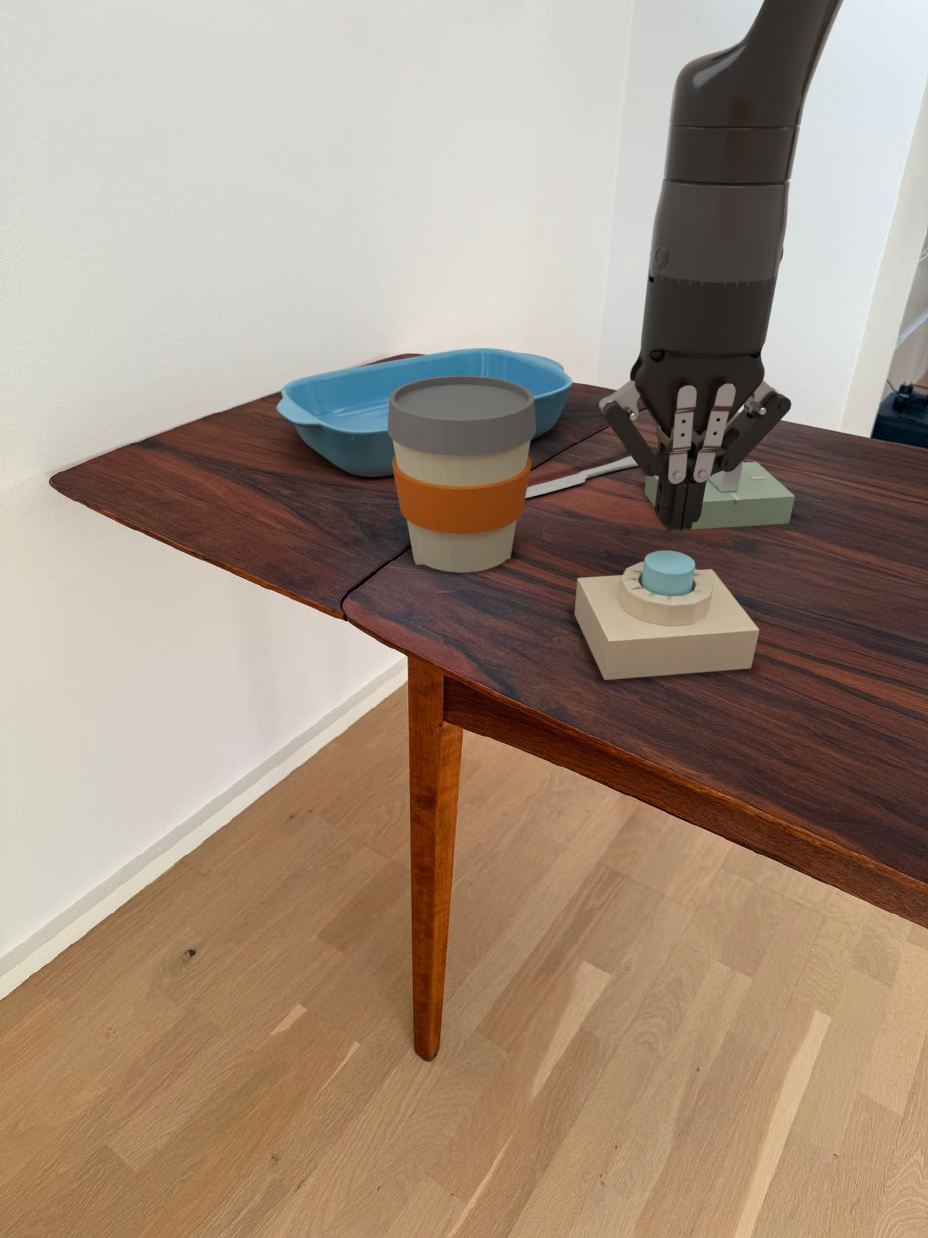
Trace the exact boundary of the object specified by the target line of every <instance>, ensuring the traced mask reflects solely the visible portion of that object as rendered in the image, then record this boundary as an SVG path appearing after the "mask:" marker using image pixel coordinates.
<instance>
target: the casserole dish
mask: <svg viewBox="0 0 928 1238" xmlns="http://www.w3.org/2000/svg"><path fill="white" fill-rule="evenodd" d="M456 375H469V376H484V377H492V378H499V379H503V380H508V381H512V382H514V383H517V384H520V385H522V386H524V387H526V388H527V389H529V390H530V391H531V392H532V394H533V396H534V406H535V421H536V432H535V435H534V436H533V438H532V439H531V440H530V441H532V440H535V439H537V438H539V437H541V436H542V435H543V434H545V433H547V432H548V431H550V430H551V429H552V428H553V427H554V426H555V424H556V423H557V422H558V420H559V419H560V417H561V414H562V413H563V409H564V407H565V404H566V402H567V400H568V399H567V398H568V396H569V393H570V390H571V388H572V387H573V383H574V381H573V379H572V377H571V376H570V375H569V374H567V373H566V372H565V368H564V365H562V364H561V363H559V362H558V361H556V360H553V359H551V358H548V357H545V356H542V355H538V354H533V353H526V352H518V351H511V350H508V349H501V348H493V347H492V348H491V347H490V348H489V347H472V348H471V347H470V348H464V349H463V348H461V349H453V350H448V351H442V352H441V351H440V352H435V353H431V354H430V353H429V354H423V355H418V356H413V357H406V358H402V359H395V360H390V361H385V362H384V361H383V362H378V363H372V364H367V365H360V366H355V367H348V368H343V369H338V370H333V371H328V372H322V373H317V374H313V375H308V376H304V377H301V378H297V379H294V380H292V381H290V382H287V383H286V384H284V385H283V387H282V388H281V390H280V394H281V397H282V399H280V401H279V402H278V404H277V405H276V411H277V413H278V414H279V415H280V416H281V417H282V418H283V419H284V420H286V421H287V422H289V423H290V424H292V425H294V428H295V430H296V432H297V434H298V435H299V437H300V438H301V439H302V441H303V442H304V443H305V444H306V445H307V446H308V447H310V448H311V449H312V450H313V451H315V452H316V453H318V454H319V455H321V456H322V458H325V459H326V460H327V461H328V462H330V463H331V464H333V465H334V466H336V467H338V468H339V469H341V470H343V471H345V472H346V473H347V474H350V475H354V476H357V477H361V478H362V477H363V478H380V477H381V478H382V477H383V478H384V477H389V476H390V477H391V476H394V472H393V466H392V461H393V458H394V456H395V450H394V445H393V439H391V438H390V436H389V434H388V413H389V396H390V394H391V393H392V391H394V390H395V389H396V388H398V387H400V386H402V385H404V384H406V383H409V382H412V381H416V380H421V379H425V378H432V377H440V376H456Z"/></svg>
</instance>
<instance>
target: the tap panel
mask: <svg viewBox="0 0 928 1238" xmlns="http://www.w3.org/2000/svg"><path fill="white" fill-rule="evenodd" d="M645 476H646V477H645V483H644V484H645V485H644V495H645V497H646V498H647V499H648V501H649V502H650V503H651V504H652V506H653V507H654V508H655V502H656V501H655V500H656V493H657V485H658V476H652V477H650V476H647V475H646V474H645ZM795 499H796V496H795V494H794V493H792V492H791V491H790V490H789V489H788V488H786V487H785V485H784V484H782V483H781V482H780V481H779V480H778V479H776V477H774V475H772V474H771V473H770V472H769V471H768V470H767V469H765V467H763V466H762V465H761V464H760V463H758V461H747V462H744V461H743V466H742V472H741V477H740V482H739V488H738V491H727V492H720V491H719V489H718V488H717V487H716V486H715V485H714V484H713V483H712V482H711V481H710V480H709V479H708V480H707V482H706V487H705V493H704V499H703V505H702V511H701V516H700V518H699V520H698V521H697V522H693V523H692V528H691V530H706V529H722V528H737V527H755V526H757V527H758V526H770V525H785V524H790V521H791V518H792V517H791V516H792V514H793V513H792V512H793V508H794V504H795Z"/></svg>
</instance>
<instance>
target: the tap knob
mask: <svg viewBox="0 0 928 1238" xmlns="http://www.w3.org/2000/svg"><path fill="white" fill-rule="evenodd" d="M744 460H745V459H744ZM744 460H743V461H742V462H741V463H740V464H739V465H738V466H737V467H736V468H735V469H734V470H733V471H731V472H724V471H721V472H718V473H716V474H713V475H712V476H711V477H710V478H709V480H710V481H711V482H712V483H713V484H714V485H715V486H716V487H717V488H718V489H719V491H720V492H727V491H738V488H739V482H740V477H741V472H742V466H743V462H744Z"/></svg>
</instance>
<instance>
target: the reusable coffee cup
mask: <svg viewBox="0 0 928 1238" xmlns="http://www.w3.org/2000/svg"><path fill="white" fill-rule="evenodd" d="M535 432H536V421H535V406H534V396H533V394H532V392H531V391H530V390H529V389H527V388H526V387H524V386H522V385H520V384H517V383H514V382H512V381H508V380H503V379H499V378H492V377H484V376H469V375H456V376H440V377H432V378H425V379H421V380H416V381H412V382H409V383H406V384H404V385H402V386H400V387H398V388H396V389H395V390H394V391H392V393H391V394H390V396H389V413H388V434H389V436H390V438H391V439H393V445H394V450H395V456H394V458H393V461H392V466H393V472H394V475H393V476H394V483H395V487H396V493H397V499H398V504H399V511H400V512H401V514H402V516H403V517H404V518H405V519H406V523H407V529H408V533H409V539H410V545H411V550H412V551H411V552H412V556H413V561H414V563H415V565H416V566H421V565H422V566H423V565H424V566H427V567H429V568H432V569H434V570H438V571H442V572H449V573H474V572H481V571H485V570H489V569H492V568H495V567H497V566H500V565H501V564H503V563H505V561H506V560H511V556H512V551H513V544H514V540H515V539H514V538H515V535H516V534H515V533H516V527H517V523H518V522H517V521H518V519H519V518H520V517H521V516H522V514H523V513H524V508H525V502H526V498H525V497H526V492H527V488H528V487H529V486H528V485H529V479H530V474H531V468H532V460H531V457H530V455H529V452H530V446H531V441H532V440H531V439H532V438H533V436H534V435H535Z"/></svg>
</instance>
